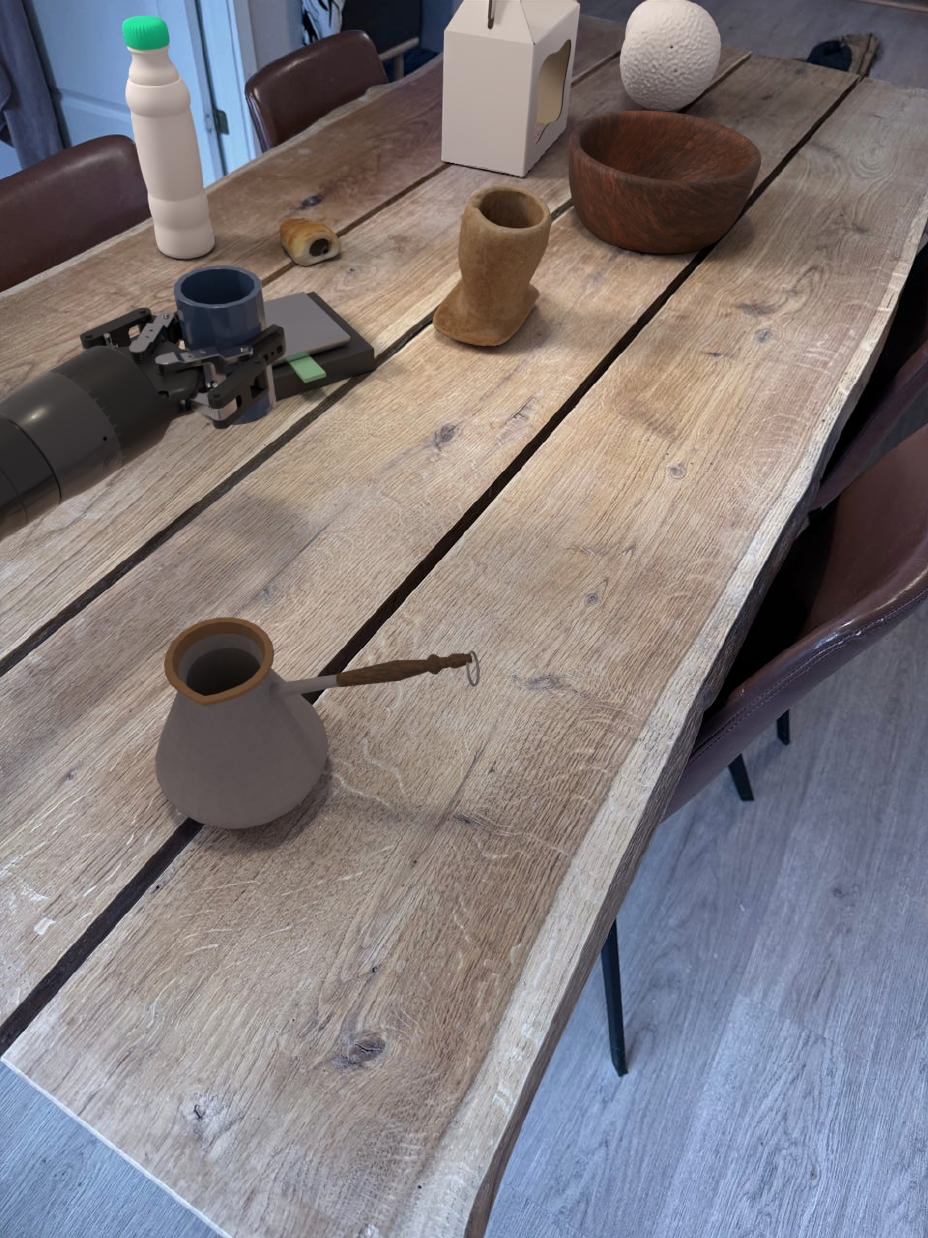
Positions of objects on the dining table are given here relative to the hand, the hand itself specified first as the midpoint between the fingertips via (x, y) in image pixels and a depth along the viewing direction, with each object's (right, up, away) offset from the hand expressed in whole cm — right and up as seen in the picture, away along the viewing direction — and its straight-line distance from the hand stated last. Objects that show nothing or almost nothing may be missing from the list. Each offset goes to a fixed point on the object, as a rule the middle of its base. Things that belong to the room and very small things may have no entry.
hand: (246, 322), depth 70 cm
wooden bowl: (+43, +32, +55) cm, 77 cm away
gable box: (+23, +51, +72) cm, 92 cm away
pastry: (-3, +24, +46) cm, 52 cm away
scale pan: (-3, +7, +27) cm, 28 cm away
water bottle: (-18, +24, +45) cm, 54 cm away
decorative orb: (+50, +65, +86) cm, 119 cm away
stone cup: (+20, +12, +36) cm, 43 cm away
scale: (-3, +5, +29) cm, 29 cm away
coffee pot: (+7, -34, -7) cm, 36 cm away
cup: (-1, -5, +3) cm, 6 cm away
